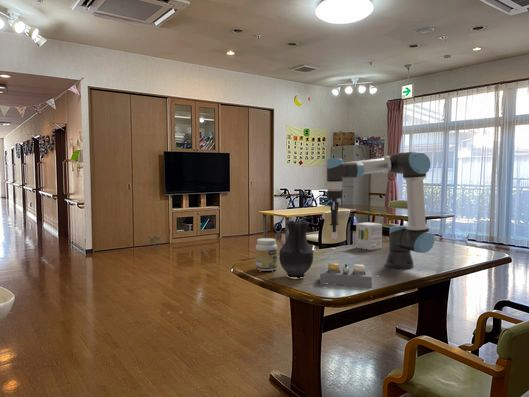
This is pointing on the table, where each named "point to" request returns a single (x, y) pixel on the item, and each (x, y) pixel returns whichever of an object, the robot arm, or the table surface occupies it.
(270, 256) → the supplement tub
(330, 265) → the knob
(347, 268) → the potentiometer
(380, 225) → the white canister
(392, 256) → the robot arm
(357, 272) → the knob
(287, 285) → the table surface
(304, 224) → the pitcher
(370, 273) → the mount
